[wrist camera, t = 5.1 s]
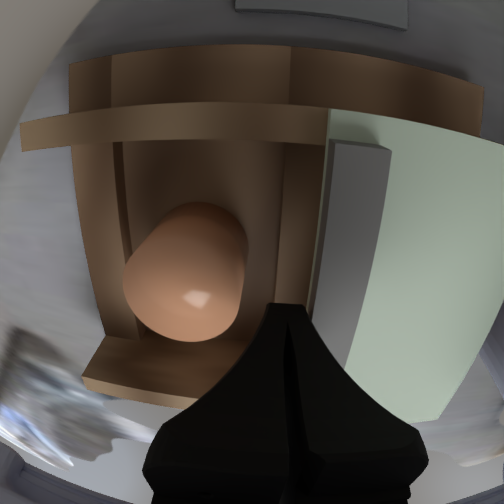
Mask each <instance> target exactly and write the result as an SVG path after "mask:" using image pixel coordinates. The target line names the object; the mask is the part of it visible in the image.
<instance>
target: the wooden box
mask: <svg viewBox="0 0 504 504" xmlns="http://www.w3.org/2000/svg"><path fill="white" fill-rule="evenodd" d="M483 99H484V87H482V86H479V85H476V84H473V83H470V82H467V81H464V80H461V79H458V78H455V77H452V76H449V75H446V74H442V73H439V72H436V71H432V70H428V69H425V68H421V67H417V66H413V65H409V64H405V63H400V62H396V61H391V60H387V59H382V58H377V57H372V56H366V55H360V54H354V53H348V52H341V51H333V50H325V49H317V48H307V47H295V46H280V45H255V44H220V45H195V46H180V47H169V48H159V49H150V50H142V51H135V52H128V53H122V54H115V55H110V56H104V57H99V58H94V59H89V60H85V61H80V62H76V63H71V64H69V114H64V115H58V116H53V117H47V118H42V119H37V120H33V121H28V122H24V123H20V136H21V148H22V152H24V151H31V150H38V149H46V148H54V147H63V146H71V152H72V163H73V173H74V182H75V191H76V198H77V206H78V212H79V219H80V225H81V231H82V237H83V242H84V248H85V253H86V258H87V263H88V267H89V272H90V276H91V281H92V285H93V289H94V293H95V298H96V302H97V305H98V309H99V313H100V317H101V320H102V324H103V327H104V331H105V334H106V336H105V337H104V339H103V341H102V342H101V344H100V346H99V347H98V349H97V350H96V352H95V354H94V355H93V357H92V359H91V360H90V362H89V364H88V366H87V367H86V369H85V371H84V372H83V374H82V376H81V377H82V379H83V381H84V383H85V386H86V388H87V389H88V390H91V391H95V392H99V393H103V394H107V395H111V396H116V397H120V398H125V399H129V400H134V401H139V402H144V403H149V404H154V405H160V406H165V407H171V408H177V409H184V410H185V409H186V408H188V407H189V406H191V405H192V404H193V403H194V402H196V401H197V400H198V399H199V398H200V397H202V396H203V395H204V394H205V393H206V392H208V391H209V390H210V389H211V388H212V387H213V386H214V385H215V384H216V383H217V382H218V381H219V380H220V379H221V378H222V377H223V376H224V375H225V374H226V373H227V372H228V370H229V369H230V368H231V367H232V366H233V365H234V363H235V362H236V361H237V359H238V358H239V357H240V355H241V354H242V353H243V351H244V350H245V348H246V347H247V345H248V344H249V342H250V341H251V339H252V337H253V336H254V334H255V332H256V330H257V328H258V326H259V324H260V322H261V320H262V318H263V315H264V313H265V309H266V305H267V304H268V303H270V302H272V303H288V304H303V306H304V307H305V308H306V306H307V300H308V293H309V286H310V280H311V272H312V265H313V258H314V250H315V242H316V235H317V226H318V218H319V209H320V200H321V191H322V181H323V171H324V160H325V148H326V136H327V123H328V109H329V108H330V109H338V110H346V111H354V112H361V113H368V114H374V115H380V116H386V117H392V118H397V119H402V120H408V121H413V122H417V123H422V124H427V125H431V126H436V127H440V128H444V129H448V130H452V131H456V132H460V133H464V134H467V135H471V136H475V137H478V138H480V131H481V122H482V112H483ZM481 139H483V138H481ZM485 140H486V139H485ZM488 141H489V140H488ZM491 142H492V141H491ZM495 143H496V142H495ZM498 144H499V143H498ZM501 145H502V144H501ZM189 202H207V203H211V204H214V205H217V206H219V207H221V208H223V209H225V210H227V211H228V212H229V213H231V214H232V215H233V216H234V217H235V218H236V219H237V220H238V221H239V223H240V224H241V226H242V227H243V229H244V231H245V233H246V236H247V239H248V245H249V253H248V260H247V265H246V271H245V277H244V282H243V288H242V294H241V299H240V305H239V310H238V313H237V316H236V318H235V320H234V321H233V323H232V324H231V325H230V327H229V328H228V329H227V330H225V331H224V332H223V333H221V334H220V335H218V336H216V337H214V338H211V339H208V340H204V341H197V342H187V341H179V340H174V339H171V338H168V337H165V336H163V335H161V334H159V333H157V332H155V331H153V330H152V329H150V328H149V327H147V326H146V325H145V324H144V323H143V322H142V321H141V320H139V318H138V317H137V316H136V315H135V314H134V312H133V311H132V310H131V308H130V306H129V304H128V303H127V300H126V298H125V295H124V291H123V284H122V281H123V272H124V268H125V266H126V263H127V262H128V260H129V258H130V257H131V256H132V255H133V253H134V252H135V251H136V250H137V248H138V247H139V246H140V245H141V244H142V242H143V241H144V240H145V239H146V238H147V236H148V235H149V234H150V233H151V232H152V231H153V229H154V228H155V227H156V226H157V225H158V224H159V222H160V221H161V220H162V219H163V218H164V217H165V215H166V214H167V213H169V212H170V211H171V210H172V209H174V208H175V207H177V206H179V205H182V204H185V203H189Z"/></svg>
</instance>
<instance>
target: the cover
mask: <svg viewBox="0 0 504 504" xmlns="http://www.w3.org/2000/svg"><path fill="white" fill-rule="evenodd" d="M503 301H504V145H501V144H498V143H495V142H491V141H488V140H485V139H481V138H478V137H475V136H471V135H467V134H464V133H460V132H456V131H452V130H448V129H444V128H440V127H436V126H431V125H427V124H422V123H417V122H413V121H408V120H402V119H397V118H392V117H386V116H380V115H374V114H368V113H361V112H354V111H346V110H338V109H330V108H329V109H328V123H327V136H326V148H325V160H324V171H323V181H322V191H321V200H320V209H319V218H318V226H317V235H316V242H315V250H314V258H313V265H312V272H311V280H310V286H309V293H308V300H307V306H306V311H307V313H308V315H309V317H310V319H311V321H312V323H313V325H314V326H315V328H316V330H317V332H318V333H319V335H320V337H321V338H322V340H323V341H324V343H325V345H326V346H327V348H328V349H329V350H330V352H331V353H332V355H333V356H334V357H335V359H336V360H337V361H338V363H339V364H340V365H341V366H342V368H343V369H344V370H345V371H346V372H347V374H348V375H349V376H350V377H351V378H352V379H353V380H354V381H355V382H356V383H357V384H358V385H359V386H360V387H361V388H362V389H363V390H364V391H365V392H366V393H367V394H368V395H369V396H371V397H372V398H373V399H374V400H375V401H376V402H377V403H379V404H380V405H381V406H383V407H384V408H385V409H387V410H388V411H389V412H391V413H392V414H393V415H395V416H396V417H398V418H399V419H401V420H403V421H404V422H406V423H415V422H423V421H430V420H437V419H438V417H439V416H440V415H441V413H442V412H443V410H444V409H445V407H446V406H447V404H448V403H449V401H450V400H451V398H452V397H453V395H454V393H455V392H456V390H457V389H458V387H459V386H460V384H461V382H462V381H463V379H464V377H465V376H466V374H467V372H468V370H469V369H470V367H471V365H472V363H473V362H474V360H475V358H476V356H477V354H478V353H479V351H480V349H481V347H482V345H483V343H484V341H485V339H486V337H487V335H488V333H489V331H490V329H491V327H492V325H493V323H494V321H495V319H496V316H497V314H498V312H499V310H500V308H501V305H502V303H503Z"/></svg>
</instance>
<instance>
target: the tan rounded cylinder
mask: <svg viewBox="0 0 504 504" xmlns="http://www.w3.org/2000/svg"><path fill="white" fill-rule="evenodd" d="M248 253H249V245H248V239H247V236H246V233H245V231H244V229H243V227H242V226H241V224H240V223H239V221H238V220H237V219H236V218H235V217H234V216H233V215H232V214H231V213H229V212H228V211H227V210H225V209H223V208H221V207H219V206H217V205H214V204H211V203H207V202H189V203H185V204H182V205H179V206H177V207H175V208H174V209H172V210H171V211H170V212H169V213H167V214H166V215H165V217H164V218H163V219H162V220H161V221H160V222H159V224H158V225H157V226H156V227H155V228H154V229H153V231H152V232H151V233H150V234H149V235H148V236H147V238H146V239H145V240H144V241H143V242H142V244H141V245H140V246H139V247H138V248H137V250H136V251H135V252H134V253H133V255H132V256H131V257H130V258H129V260H128V262H127V263H126V266H125V268H124V272H123V281H122V284H123V291H124V295H125V298H126V300H127V303H128V304H129V306H130V308H131V310H132V311H133V312H134V314H135V315H136V316H137V317H138V318H139V320H141V321H142V322H143V323H144V324H145V325H146V326H147V327H149V328H150V329H152V330H153V331H155V332H157V333H159V334H161V335H163V336H165V337H168V338H171V339H174V340H179V341H187V342H197V341H204V340H208V339H211V338H214V337H216V336H218V335H220V334H221V333H223V332H224V331H225V330H227V329H228V328H229V327H230V325H231V324H232V323H233V321H234V320H235V318H236V316H237V313H238V310H239V305H240V299H241V294H242V288H243V282H244V277H245V271H246V265H247V260H248Z"/></svg>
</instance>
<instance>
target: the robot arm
mask: <svg viewBox="0 0 504 504" xmlns="http://www.w3.org/2000/svg"><path fill="white" fill-rule="evenodd" d="M479 355H480V357H481V358H482V360H483V362H484V363H485V365H486V367H487V369H488V371H489V372H490V374H491V376H492V378H493V380H494V382H495V383H496V385H497V387H498V389H499V391H500V393H501V395H502V397H503V399H504V301H503V303H502V305H501V308H500V310H499V312H498V314H497V316H496V319H495V321H494V323H493V325H492V327H491V329H490V331H489V333H488V335H487V337H486V339H485V341H484V343H483V345H482V347H481V349H480V351H479ZM428 461H429V459H428V455H427V452H426V448H425V445H424V442H423V440H422V438H421V436H420V433H419V431H418V430H417V429H416V428H414V427H412V426H411V425H409V424H407V423H406V422H404V421H403V420H401V419H399V418H398V417H396V416H395V415H393V414H392V413H391V412H389V411H388V410H387V409H385V408H384V407H383V406H381V405H380V404H379V403H377V402H376V401H375V400H374V399H373V398H372V397H371V396H369V395H368V394H367V393H366V392H365V391H364V390H363V389H362V388H361V387H360V386H359V385H358V384H357V383H356V382H355V381H354V380H353V379H352V378H351V377H350V376H349V375H348V374H347V372H346V371H345V370H344V369H343V368H342V366H341V365H340V364H339V363H338V361H337V360H336V359H335V357H334V356H333V355H332V353H331V352H330V350H329V349H328V348H327V346H326V345H325V343H324V341H323V340H322V338H321V337H320V335H319V333H318V332H317V330H316V328H315V326H314V325H313V323H312V321H311V319H310V317H309V315H308V313H307V311H306V308H305V307H304V306H303V304H288V303H272V302H270V303H268V304H267V305H266V309H265V313H264V315H263V318H262V320H261V322H260V324H259V326H258V328H257V330H256V332H255V334H254V336H253V337H252V339H251V341H250V342H249V344H248V345H247V347H246V348H245V350H244V351H243V353H242V354H241V355H240V357H239V358H238V359H237V361H236V362H235V363H234V365H233V366H232V367H231V368H230V369H229V370H228V372H227V373H226V374H225V375H224V376H223V377H222V378H221V379H220V380H219V381H218V382H217V383H216V384H215V385H214V386H213V387H212V388H211V389H210V390H209V391H208V392H206V393H205V394H204V395H203V396H202V397H200V398H199V399H198V400H197V401H196V402H194V403H193V404H192V405H191V406H189V407H188V408H186V409H185V410H184V411H182V412H181V413H179V414H178V415H176V416H174V417H173V418H171V419H170V420H168V421H167V422H165V423H164V424H163V425H162V426H161V428H160V429H159V431H158V432H157V434H156V436H155V438H154V439H153V441H152V443H151V446H150V447H149V450H148V453H147V455H146V459H145V462H144V465H143V469H142V472H143V475H144V477H145V479H146V481H147V482H148V483H149V485H150V487H151V489H152V490H153V492H154V495H153V498H152V502H151V504H408V502H407V499H409V498H410V497H411V492H410V487H409V485H411V483H413V482H414V481H415V480H416V478H417V477H419V476H420V475H421V474H422V472H423V471H424V470H425V468H426V467H427V465H428ZM503 482H504V464H503ZM0 504H133V503H129V502H126V501H123V500H119V499H115V498H113V497H109V496H106V495H103V494H100V493H97V492H94V491H92V490H89V489H86V488H83V487H81V486H78V485H76V484H73V483H70V482H68V481H66V480H63V479H61V478H58V477H56V476H54V475H52V474H49V473H47V472H45V471H43V470H41V469H38V468H36V467H34V466H32V465H30V464H28V463H26V462H25V461H24V459H23V458H22V457H21V456H20V455H19V454H18V453H17V452H16V451H15V450H13V449H12V448H11V447H9V446H7V445H5V444H4V443H2V442H0ZM447 504H504V484H502V485H500V486H497V487H495V488H492V489H490V490H487V491H484V492H481V493H479V494H476V495H473V496H470V497H467V498H464V499H461V500H458V501H454V502H451V503H447Z"/></svg>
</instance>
